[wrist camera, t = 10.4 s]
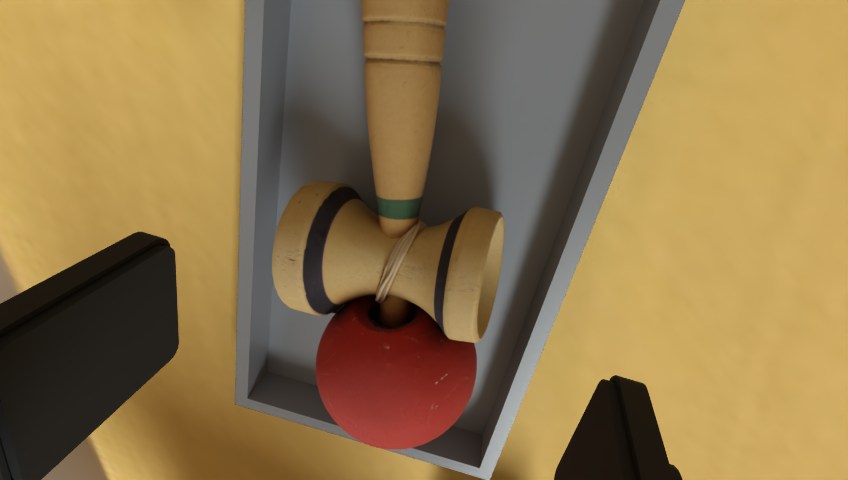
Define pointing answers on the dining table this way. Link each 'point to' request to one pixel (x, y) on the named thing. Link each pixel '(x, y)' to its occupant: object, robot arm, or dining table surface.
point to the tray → (441, 175)
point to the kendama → (392, 254)
